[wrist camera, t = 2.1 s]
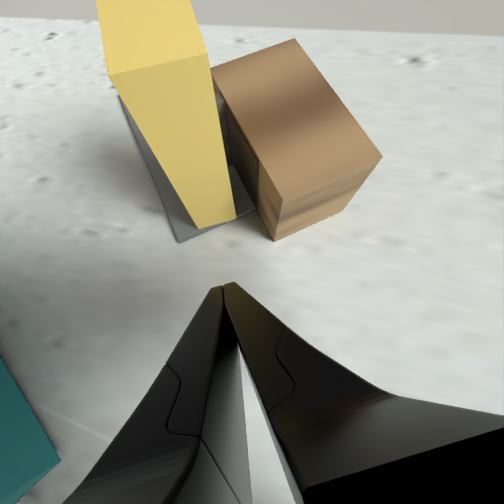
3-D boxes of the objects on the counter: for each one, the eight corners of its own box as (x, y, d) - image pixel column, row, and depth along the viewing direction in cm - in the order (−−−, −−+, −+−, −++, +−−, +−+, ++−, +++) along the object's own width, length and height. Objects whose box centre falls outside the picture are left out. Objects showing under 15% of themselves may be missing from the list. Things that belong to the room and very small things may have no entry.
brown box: (342, 210, 19) (382, 156, 13) (266, 245, 19) (272, 204, 13) (283, 119, 22) (294, 38, 16) (215, 146, 21) (199, 71, 15)
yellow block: (236, 218, 19) (207, 53, 7) (198, 229, 19) (108, 75, 7) (223, 175, 20) (180, -27, 9) (187, 184, 20) (94, -10, 8)
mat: (255, 210, 20) (255, 207, 19) (180, 243, 19) (178, 241, 18) (184, 74, 24) (183, 70, 23) (120, 96, 23) (118, 93, 23)
